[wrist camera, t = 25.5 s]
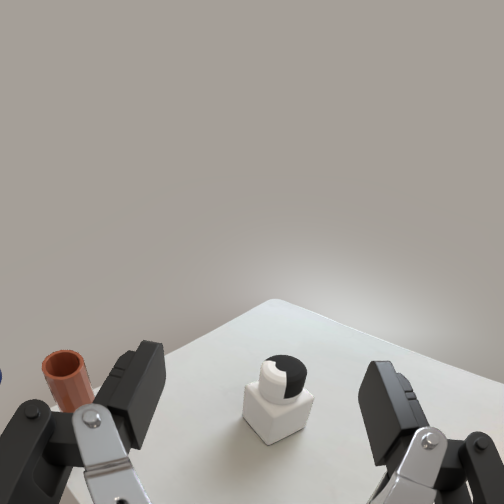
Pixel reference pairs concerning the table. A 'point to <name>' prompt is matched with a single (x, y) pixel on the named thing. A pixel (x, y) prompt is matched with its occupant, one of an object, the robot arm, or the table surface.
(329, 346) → the table surface
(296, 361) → the medicine bottle
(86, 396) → the tube
